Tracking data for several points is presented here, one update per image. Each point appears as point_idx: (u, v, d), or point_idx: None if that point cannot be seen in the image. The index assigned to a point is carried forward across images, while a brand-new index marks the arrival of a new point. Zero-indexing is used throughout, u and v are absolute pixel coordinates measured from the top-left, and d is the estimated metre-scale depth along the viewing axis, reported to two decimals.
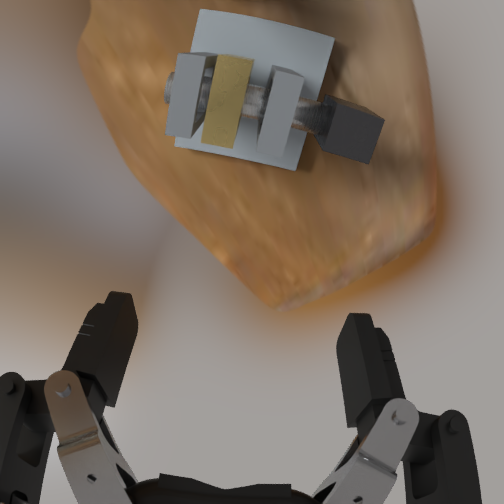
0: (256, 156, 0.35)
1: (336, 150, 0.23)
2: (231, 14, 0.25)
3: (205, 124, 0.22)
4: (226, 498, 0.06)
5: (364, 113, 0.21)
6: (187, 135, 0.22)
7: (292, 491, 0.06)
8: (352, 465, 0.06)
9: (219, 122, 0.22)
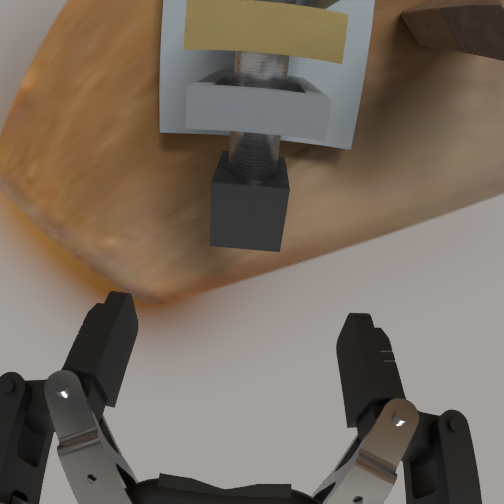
0: (167, 78, 0.22)
1: (217, 200, 0.17)
2: (369, 28, 0.19)
3: (221, 1, 0.10)
4: (226, 498, 0.06)
5: (282, 225, 0.17)
6: None
7: (292, 491, 0.06)
8: (352, 465, 0.06)
9: (227, 22, 0.11)
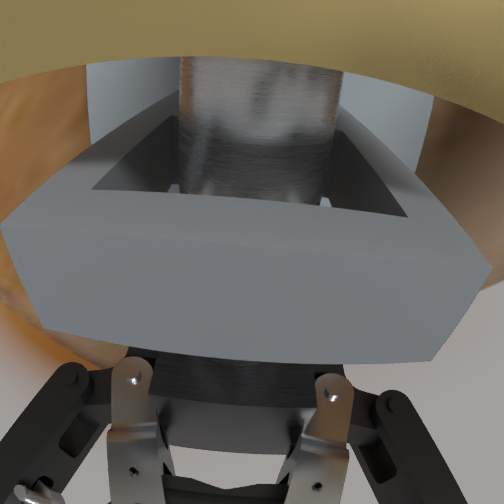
0: (99, 106, 0.12)
1: (166, 413, 0.07)
2: None
3: None
4: (226, 498, 0.06)
5: (294, 438, 0.08)
6: None
7: None
8: (298, 454, 0.06)
9: None
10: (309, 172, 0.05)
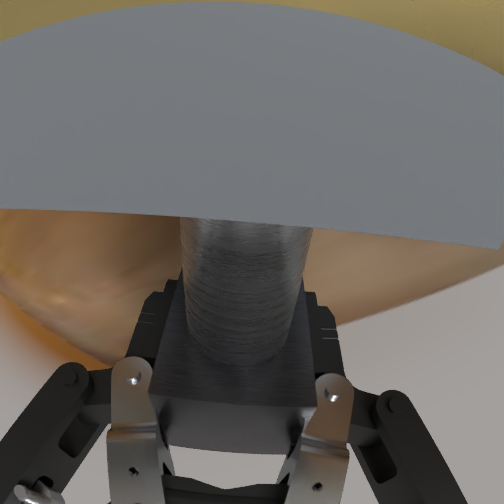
0: None
1: (166, 413, 0.07)
2: None
3: None
4: (226, 498, 0.06)
5: (295, 437, 0.08)
6: None
7: None
8: (298, 454, 0.06)
9: None
10: None
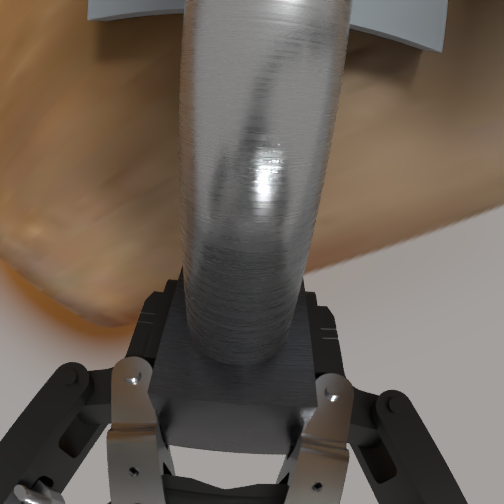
0: None
1: (166, 413, 0.07)
2: None
3: None
4: (226, 498, 0.06)
5: (295, 437, 0.08)
6: None
7: None
8: (298, 454, 0.06)
9: None
10: (309, 168, 0.05)
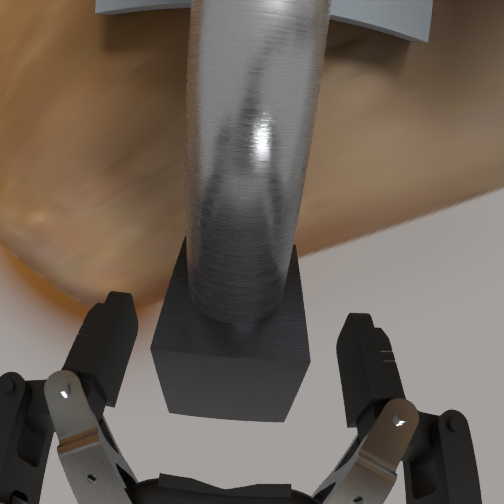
0: None
1: (167, 371, 0.08)
2: None
3: None
4: (226, 498, 0.06)
5: (290, 400, 0.09)
6: None
7: (292, 491, 0.06)
8: (352, 465, 0.06)
9: None
10: (295, 134, 0.06)
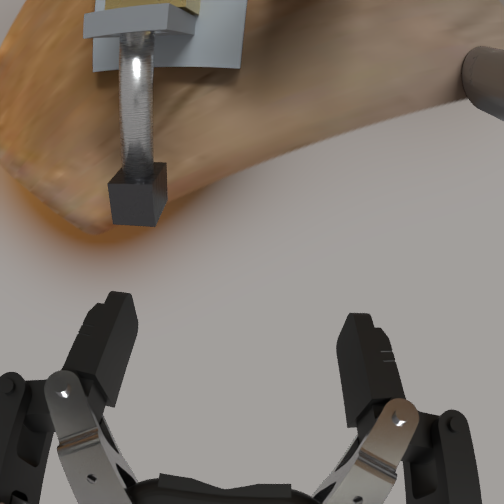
0: None
1: (112, 194, 0.25)
2: None
3: None
4: (226, 498, 0.06)
5: (152, 208, 0.26)
6: None
7: (292, 491, 0.06)
8: (352, 465, 0.06)
9: None
10: (142, 120, 0.23)
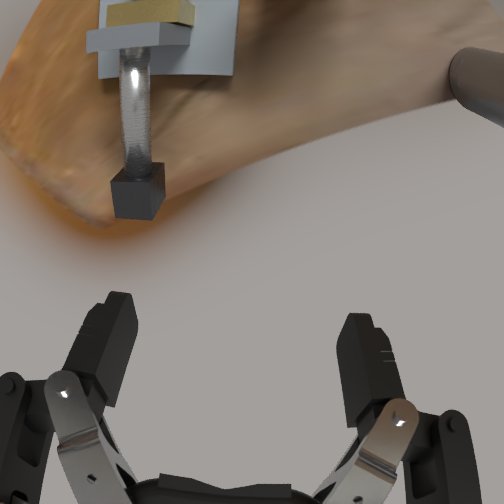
0: None
1: (114, 191, 0.28)
2: None
3: (121, 4, 0.20)
4: (226, 498, 0.06)
5: (150, 204, 0.29)
6: None
7: (292, 491, 0.06)
8: (352, 465, 0.06)
9: (124, 13, 0.20)
10: (140, 125, 0.25)
